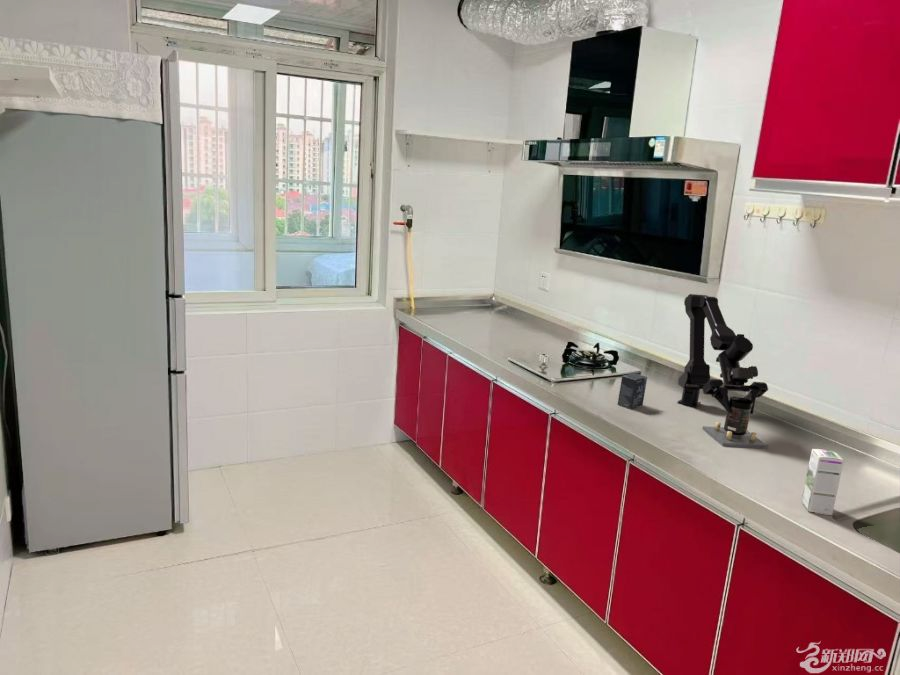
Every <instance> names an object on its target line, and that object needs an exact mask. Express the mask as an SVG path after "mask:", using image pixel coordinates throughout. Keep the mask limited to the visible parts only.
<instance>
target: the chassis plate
mask: <svg viewBox="0 0 900 675" xmlns="http://www.w3.org/2000/svg"><path fill="white" fill-rule="evenodd" d="M702 430H703V431H704V432H705V433H706V434H707V435H709V436H710V437H711V438H712V439H714V441H716V442H717V443H718V444H719V445H720V446H722V447H732V448H747V449H748V448H752V449H768V444H767V443H765V442H764V441H762V440H761V439H760V438H758V437H757V433H756V432H750V431H749V430H747V433H746V434H745V435H733V434H732V432H731V431H727V432H726V431H725V430H724V426H723V427H721V422H720V421H719V422H718V421H716V422H715V426H707V425H706V426H704V425H703V426H702Z"/></svg>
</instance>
